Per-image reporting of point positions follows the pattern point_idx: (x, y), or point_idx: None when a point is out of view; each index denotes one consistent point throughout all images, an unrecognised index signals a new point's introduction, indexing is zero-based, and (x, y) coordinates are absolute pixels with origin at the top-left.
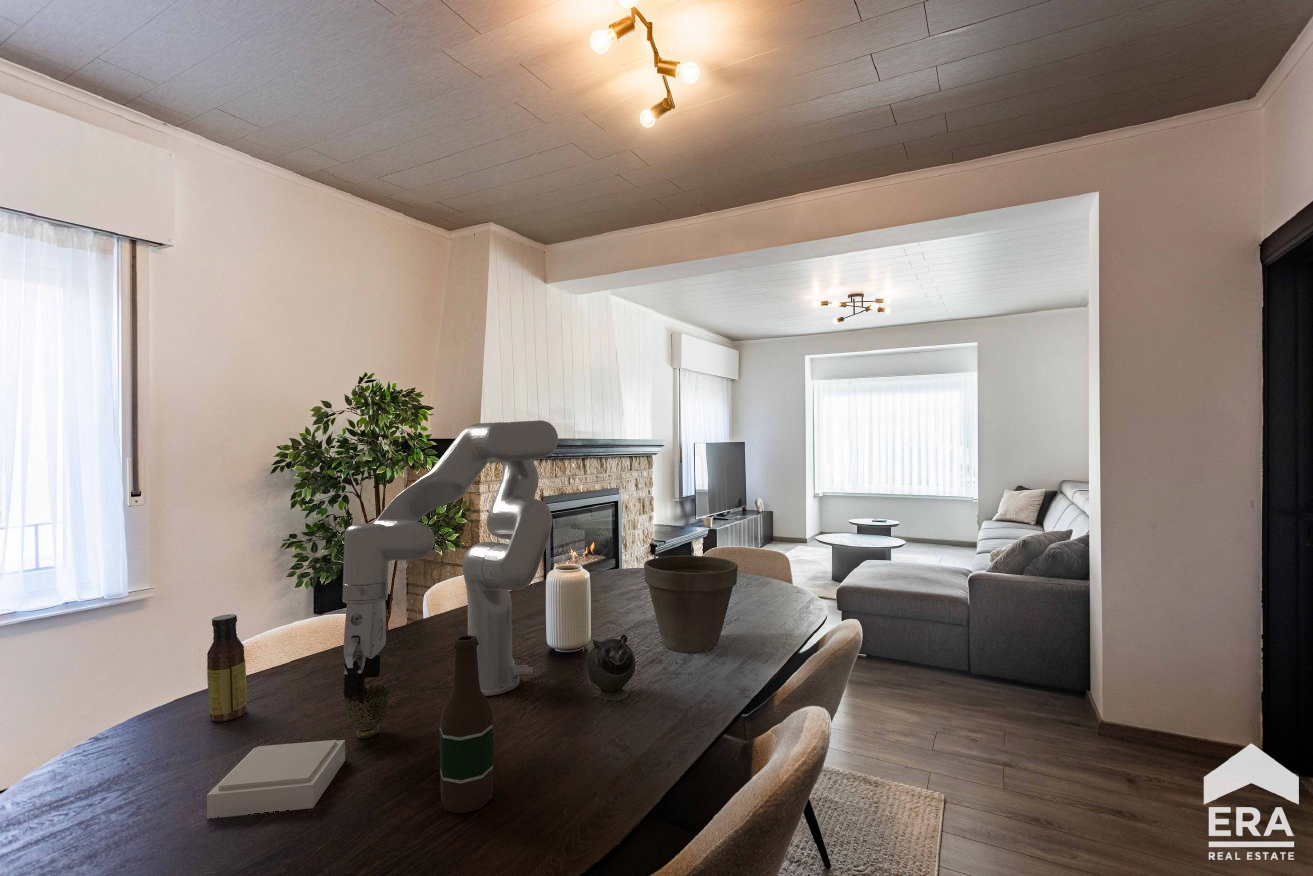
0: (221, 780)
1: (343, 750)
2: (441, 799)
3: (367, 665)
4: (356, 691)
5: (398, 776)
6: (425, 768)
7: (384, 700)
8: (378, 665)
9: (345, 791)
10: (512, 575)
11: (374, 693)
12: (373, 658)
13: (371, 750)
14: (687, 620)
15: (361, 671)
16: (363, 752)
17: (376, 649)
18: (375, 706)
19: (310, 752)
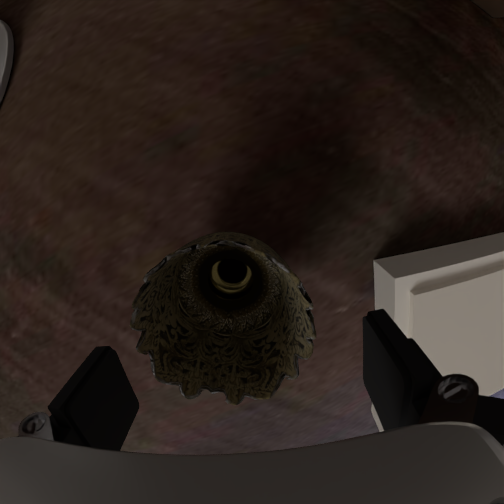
0: None
1: (396, 268)
2: (499, 17)
3: (111, 424)
4: (411, 339)
5: (443, 98)
6: (411, 46)
7: (238, 241)
8: (89, 379)
9: (484, 194)
10: None
11: (149, 321)
12: (84, 427)
13: (324, 215)
14: None
15: (456, 385)
16: (334, 232)
17: (343, 493)
18: (281, 259)
19: (461, 319)
